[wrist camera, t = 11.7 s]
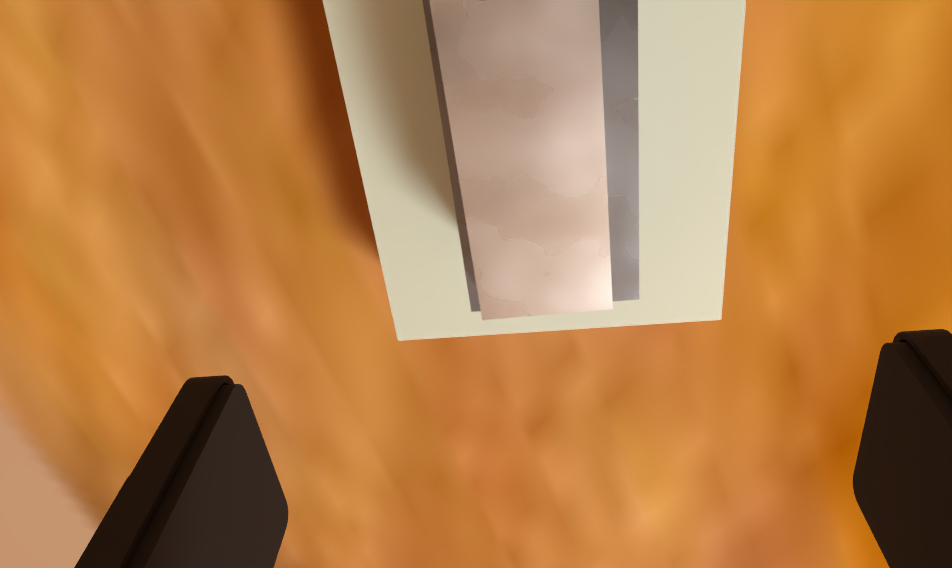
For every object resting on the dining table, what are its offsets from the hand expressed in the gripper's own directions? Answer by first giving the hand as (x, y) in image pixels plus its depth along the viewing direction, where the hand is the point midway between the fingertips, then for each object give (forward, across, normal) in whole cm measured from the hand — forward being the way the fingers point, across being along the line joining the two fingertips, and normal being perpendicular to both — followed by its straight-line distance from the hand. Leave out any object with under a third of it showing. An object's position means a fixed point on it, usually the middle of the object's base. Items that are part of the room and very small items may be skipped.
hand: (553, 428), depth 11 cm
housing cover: (+10, 0, 0) cm, 10 cm away
